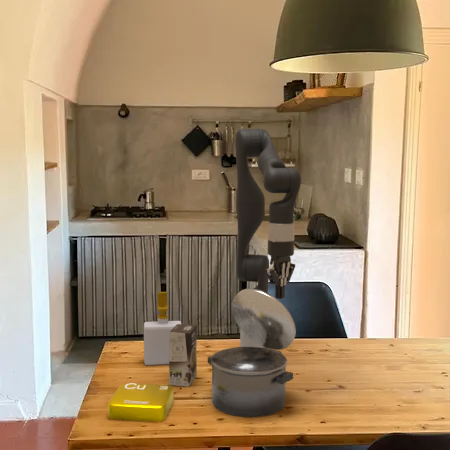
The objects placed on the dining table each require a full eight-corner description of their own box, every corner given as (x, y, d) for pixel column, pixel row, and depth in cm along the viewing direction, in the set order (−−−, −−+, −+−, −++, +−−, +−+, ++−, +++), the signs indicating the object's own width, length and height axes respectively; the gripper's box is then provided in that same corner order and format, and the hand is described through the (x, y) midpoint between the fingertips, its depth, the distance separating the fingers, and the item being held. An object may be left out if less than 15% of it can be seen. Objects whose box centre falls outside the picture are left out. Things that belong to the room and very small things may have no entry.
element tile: (105, 420, 154) (105, 402, 153) (121, 397, 169) (121, 380, 168) (163, 423, 152) (163, 405, 152) (174, 399, 167) (174, 383, 166)
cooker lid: (241, 341, 178) (246, 335, 180) (300, 356, 166) (305, 349, 168) (224, 286, 169) (229, 280, 171) (284, 297, 157) (290, 291, 159)
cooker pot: (237, 378, 182) (237, 339, 181) (309, 399, 167) (310, 357, 165) (189, 401, 165) (189, 358, 164) (264, 427, 150) (265, 380, 148)
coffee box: (189, 387, 175) (189, 333, 173) (168, 385, 176) (168, 331, 174) (197, 375, 184) (197, 324, 182) (177, 374, 185) (177, 322, 183)
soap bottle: (144, 366, 192) (143, 293, 189) (144, 359, 198) (143, 289, 196) (182, 364, 194) (182, 292, 191) (181, 357, 200) (181, 288, 198)
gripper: (282, 235, 179) (281, 292, 181) (256, 239, 169) (255, 300, 171) (304, 237, 175) (303, 296, 177) (279, 242, 164) (278, 304, 166)
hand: (279, 298), depth 174 cm, fingers closed
